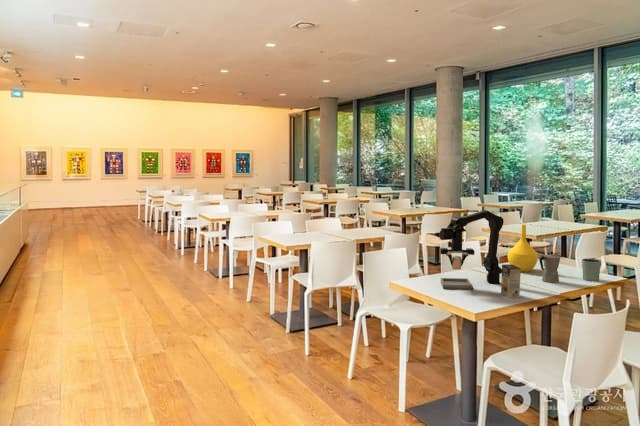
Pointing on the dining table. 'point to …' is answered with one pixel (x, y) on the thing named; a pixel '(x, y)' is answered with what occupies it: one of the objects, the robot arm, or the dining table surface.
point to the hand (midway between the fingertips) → (456, 266)
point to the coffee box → (510, 281)
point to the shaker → (456, 262)
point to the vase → (523, 254)
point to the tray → (456, 283)
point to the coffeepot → (550, 268)
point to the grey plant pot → (591, 269)
